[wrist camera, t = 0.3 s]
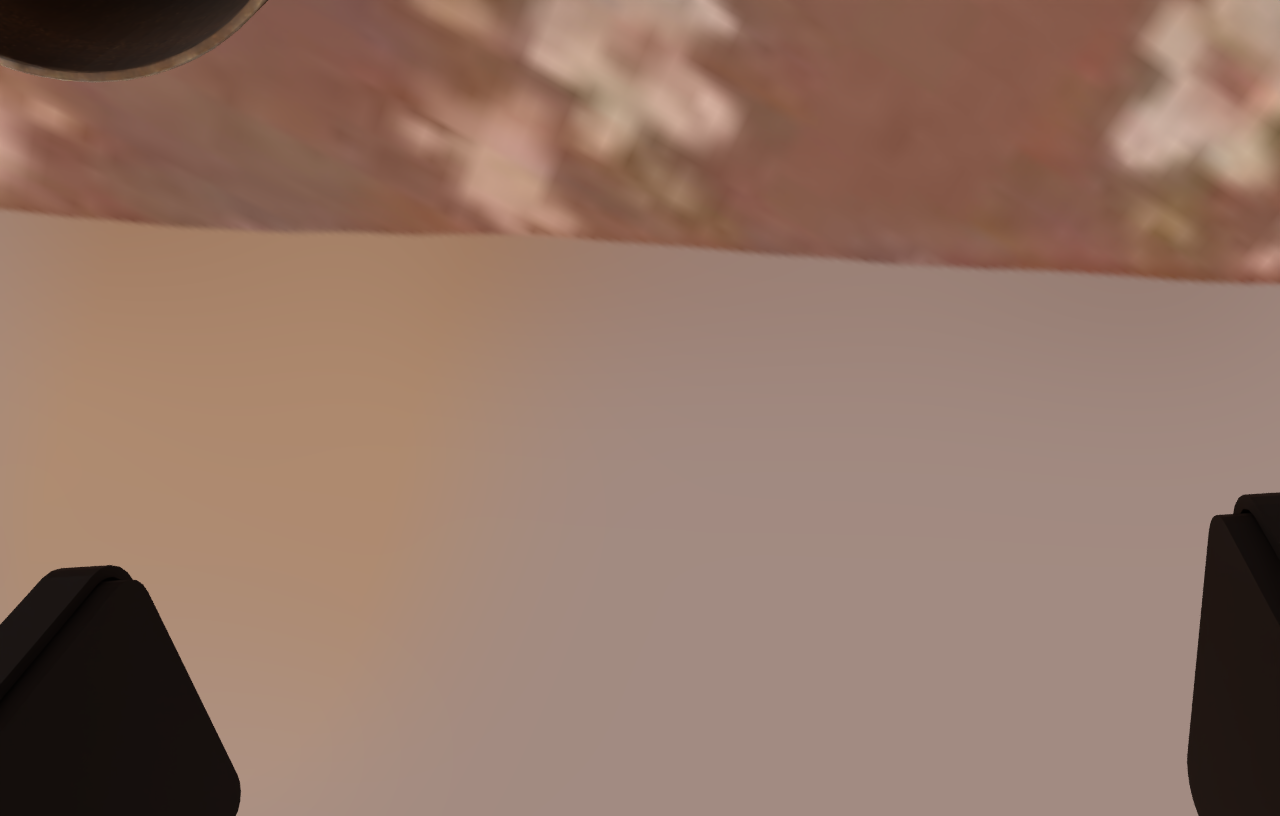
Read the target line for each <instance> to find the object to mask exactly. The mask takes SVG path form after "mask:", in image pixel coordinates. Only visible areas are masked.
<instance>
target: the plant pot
mask: <svg viewBox="0 0 1280 816" xmlns="http://www.w3.org/2000/svg"><path fill="white" fill-rule="evenodd" d="M267 1H268V0H0V65H1V66H4V67H7V68H10V69H13V70H16V71H20V72H24V73H27V74H31V75H36V76H40V77H46V78H52V79H58V80H64V81H79V82H113V81H124V80H132V79H137V78H141V77H146V76H151V75H155V74H158V73H161V72H165V71H168V70H171V69H173V68H176V67H178V66H181V65H183V64H186V63H188V62H190V61H192V60H195V59H197V58H198V57H200V56H202V55H204V54H205V53H207V52H209V51H211V50H213V49H214V48H215V47H217V46H218V45H220V44H221V43H222V42H224V41H225V40H226V39H228V38H229V37H230V36H231V35H233V34H234V33H235V32H236V31H238V30H239V29H240V28H241V27H242V26H243V25H244V24H245V23H246V22H247V21H248V20H249V19H250V18H251V17H252V16H253V15H254V14H255V13H256V12H257V11H258V10H259V9H260V8H261V7H262V6H263V5H264V4H265V3H266V2H267Z"/></svg>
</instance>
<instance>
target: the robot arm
mask: <svg viewBox="0 0 1280 816" xmlns="http://www.w3.org/2000/svg"><path fill="white" fill-rule="evenodd" d="M1194 682H1195V683H1194V692H1193V703H1192V713H1191V723H1190V734H1189V744H1188V754H1187V765H1188V777H1189V784H1190V789H1191V793H1192V797H1193V801H1194V804H1195V807H1196V810H1197V812H1198V815H1199V816H1280V493H1264V494H1249V495H1242V496H1241V497H1239V498H1238V500H1237V502H1236V504H1235V507H1234V513H1233V514H1227V515H1216V516H1214V517H1213V518H1212V520H1211V523H1210V528H1209V536H1208V546H1207V556H1206V566H1205V577H1204V587H1203V598H1202V608H1201V619H1200V629H1199V639H1198V650H1197V661H1196V671H1195V681H1194ZM240 795H241V790H240V781H239V778H238V775H237V773H236V771H235V769H234V767H233V765H232V763H231V761H230V759H229V757H228V755H227V752H226V750H225V749H224V746H223V744H222V742H221V740H220V738H219V736H218V734H217V732H216V730H215V728H214V726H213V724H212V722H211V720H210V718H209V716H208V714H207V711H206V709H205V707H204V705H203V703H202V701H201V699H200V697H199V695H198V693H197V691H196V689H195V687H194V685H193V683H192V681H191V679H190V677H189V675H188V673H187V671H186V669H185V666H184V664H183V663H182V660H181V658H180V656H179V654H178V652H177V650H176V648H175V646H174V644H173V642H172V640H171V638H170V636H169V634H168V632H167V630H166V628H165V626H164V624H163V622H162V620H161V618H160V616H159V613H158V611H157V609H156V607H155V605H154V603H153V601H152V599H151V597H150V595H149V593H148V591H147V590H146V588H145V587H144V585H143V584H141V583H140V582H139V581H137V580H133V579H132V578H131V577H130V575H129V574H128V572H126V571H125V570H123V569H122V568H121V567H117V566H112V565H107V566H91V567H75V568H61V569H57V570H54V571H51V572H50V573H49V574H47V575H46V576H45V577H43V578H42V579H41V580H40V581H39V583H38V584H37V585H36V586H35V587H34V588H33V589H32V590H31V591H30V593H29V594H28V595H27V596H26V597H25V598H24V599H23V600H22V601H21V602H20V604H19V605H18V606H17V607H16V608H15V609H14V610H13V611H12V612H11V613H10V615H9V616H8V617H7V618H6V619H5V620H4V621H3V622H2V623H1V624H0V816H236V814H237V812H238V808H239V803H240Z"/></svg>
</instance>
